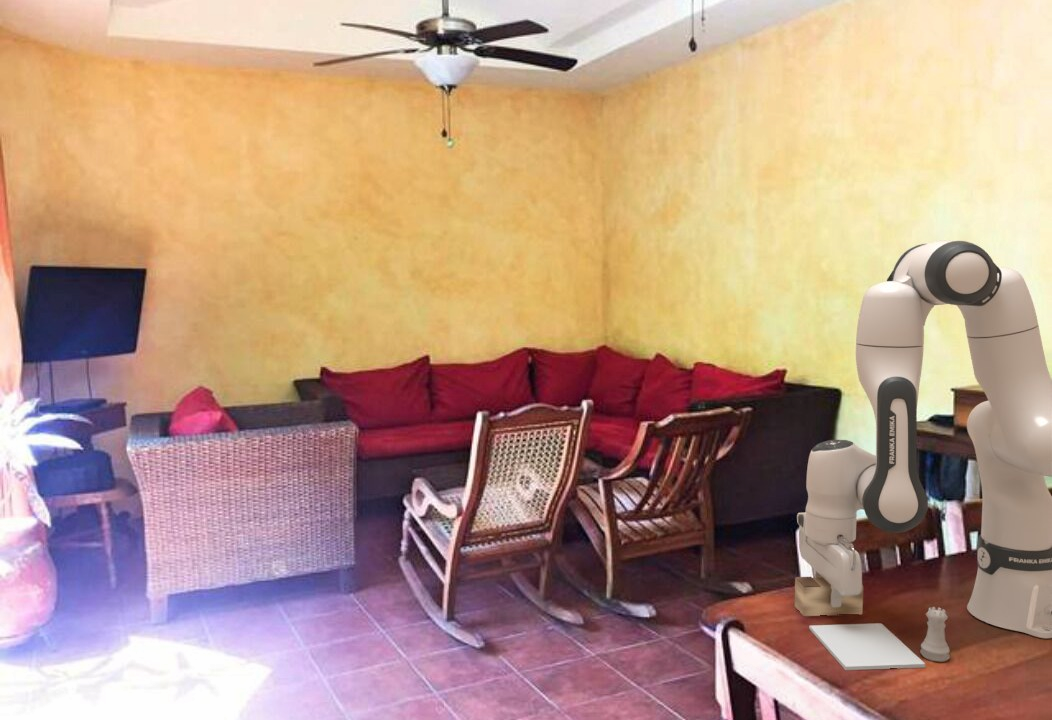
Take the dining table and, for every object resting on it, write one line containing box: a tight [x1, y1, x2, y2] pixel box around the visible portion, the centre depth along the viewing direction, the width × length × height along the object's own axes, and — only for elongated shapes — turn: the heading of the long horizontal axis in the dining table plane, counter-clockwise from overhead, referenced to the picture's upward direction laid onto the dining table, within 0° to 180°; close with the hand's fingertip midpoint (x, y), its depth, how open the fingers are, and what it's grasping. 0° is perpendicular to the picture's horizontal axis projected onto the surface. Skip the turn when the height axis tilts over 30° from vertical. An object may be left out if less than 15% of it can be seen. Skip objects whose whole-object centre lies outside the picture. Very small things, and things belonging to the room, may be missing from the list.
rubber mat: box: [808, 622, 926, 671], centre depth 139 cm, size 13×15×1 cm
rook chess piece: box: [919, 606, 951, 663], centre depth 135 cm, size 4×4×8 cm
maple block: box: [794, 576, 864, 617], centre depth 153 cm, size 11×4×6 cm, turn 92°
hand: (828, 599), depth 153 cm, fingers closed on maple block, 4 cm apart
